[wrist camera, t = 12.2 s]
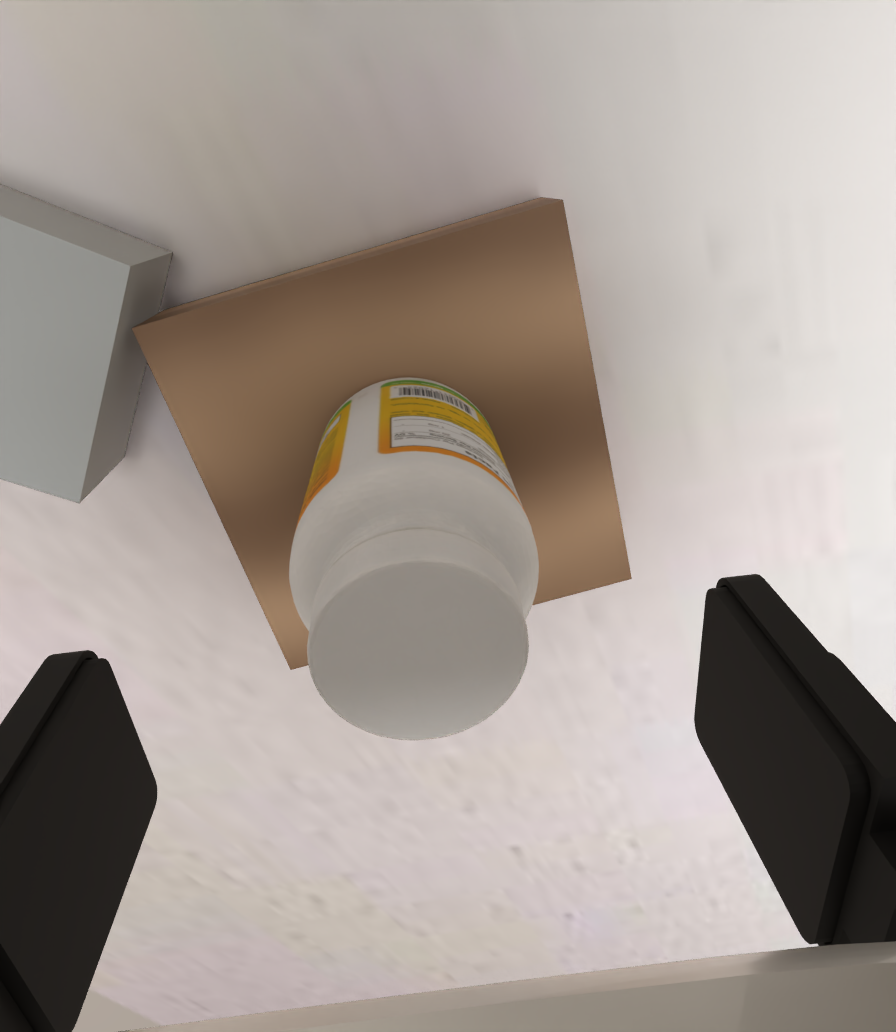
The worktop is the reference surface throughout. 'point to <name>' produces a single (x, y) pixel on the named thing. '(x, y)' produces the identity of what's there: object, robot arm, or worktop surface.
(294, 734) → the worktop surface
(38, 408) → the slate block
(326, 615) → the supplement bottle
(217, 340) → the walnut block
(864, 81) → the worktop surface
